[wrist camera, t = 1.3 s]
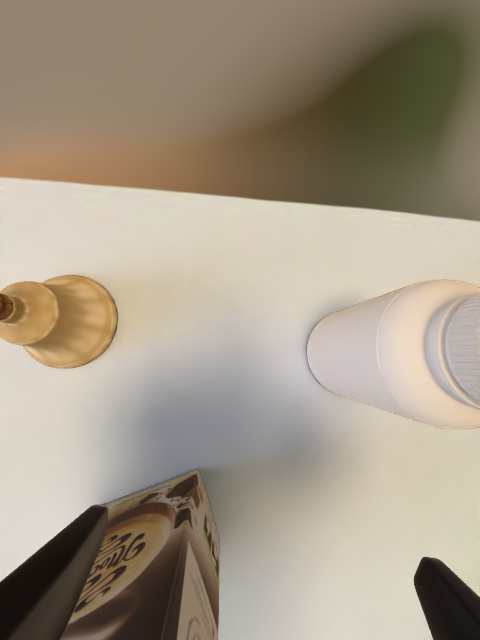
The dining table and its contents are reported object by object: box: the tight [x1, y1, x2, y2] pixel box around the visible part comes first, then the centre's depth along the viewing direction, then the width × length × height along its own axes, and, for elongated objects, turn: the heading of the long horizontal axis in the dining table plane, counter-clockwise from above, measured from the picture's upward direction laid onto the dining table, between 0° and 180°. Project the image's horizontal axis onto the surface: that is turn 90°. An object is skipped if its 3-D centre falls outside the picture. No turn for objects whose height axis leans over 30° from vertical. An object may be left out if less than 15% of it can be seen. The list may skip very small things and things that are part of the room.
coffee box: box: [60, 470, 220, 640], centre depth 13 cm, size 9×6×16 cm
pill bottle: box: [307, 280, 480, 430], centre depth 17 cm, size 8×8×15 cm
